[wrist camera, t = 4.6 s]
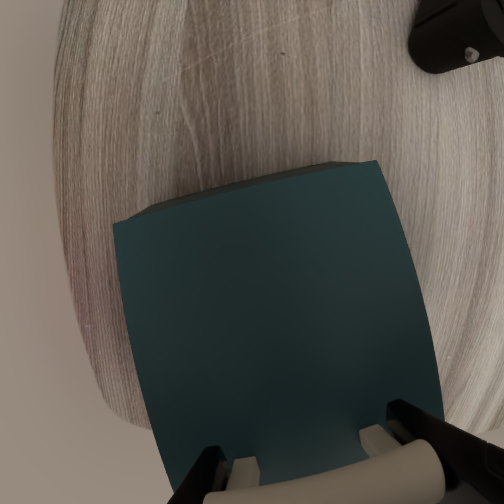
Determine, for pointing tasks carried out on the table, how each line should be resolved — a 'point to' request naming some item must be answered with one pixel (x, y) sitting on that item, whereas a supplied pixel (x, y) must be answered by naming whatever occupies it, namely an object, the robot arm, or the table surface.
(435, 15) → the camera
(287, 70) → the table surface
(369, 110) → the table surface
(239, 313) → the lid
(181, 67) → the table surface
